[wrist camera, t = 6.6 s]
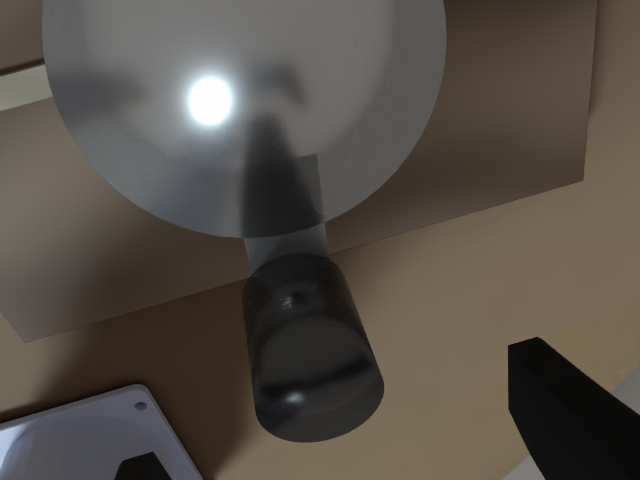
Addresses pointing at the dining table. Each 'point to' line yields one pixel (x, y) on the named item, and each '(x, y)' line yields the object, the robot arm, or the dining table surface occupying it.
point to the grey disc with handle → (258, 155)
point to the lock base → (341, 232)
